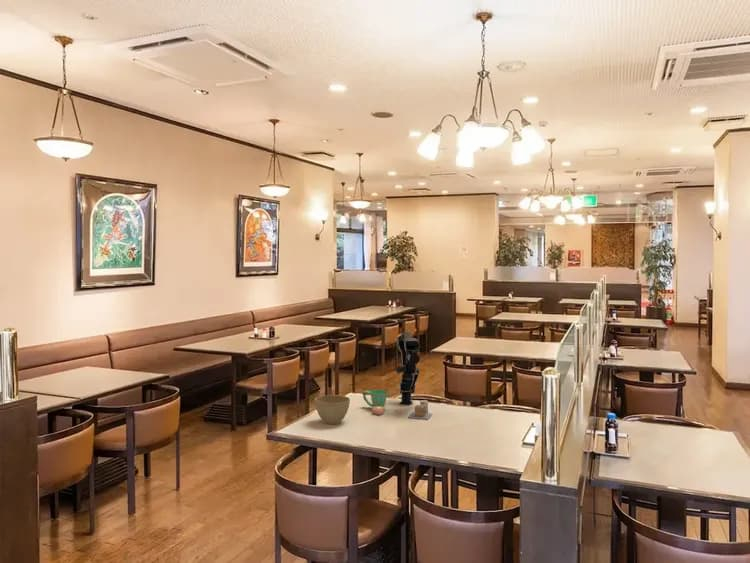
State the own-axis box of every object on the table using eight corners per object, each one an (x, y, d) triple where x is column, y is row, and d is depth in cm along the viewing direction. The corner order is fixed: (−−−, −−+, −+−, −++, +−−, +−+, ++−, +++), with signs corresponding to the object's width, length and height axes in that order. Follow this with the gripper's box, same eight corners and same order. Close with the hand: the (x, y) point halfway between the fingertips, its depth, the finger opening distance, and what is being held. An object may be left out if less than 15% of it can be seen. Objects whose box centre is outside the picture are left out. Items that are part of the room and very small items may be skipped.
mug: (390, 407, 324) (390, 390, 324) (383, 412, 316) (383, 394, 315) (366, 405, 331) (367, 388, 330) (359, 409, 322) (359, 391, 321)
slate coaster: (412, 412, 314) (412, 411, 314) (432, 414, 311) (432, 413, 311) (407, 418, 304) (407, 417, 304) (428, 419, 300) (428, 418, 300)
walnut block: (416, 413, 310) (416, 404, 310) (425, 414, 309) (425, 405, 309) (414, 416, 306) (414, 406, 306) (423, 416, 304) (423, 407, 304)
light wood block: (420, 410, 319) (420, 400, 319) (427, 410, 319) (427, 400, 319) (420, 412, 315) (420, 401, 315) (427, 412, 315) (427, 402, 315)
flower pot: (348, 427, 286) (348, 403, 286) (312, 426, 286) (312, 403, 286) (350, 417, 304) (350, 395, 304) (317, 417, 304) (317, 394, 304)
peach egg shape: (371, 412, 314) (371, 406, 314) (382, 411, 316) (381, 405, 316) (374, 415, 308) (373, 408, 308) (384, 414, 310) (384, 407, 310)
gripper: (401, 357, 331) (401, 384, 332) (393, 362, 314) (392, 391, 314) (420, 358, 328) (419, 385, 329) (412, 364, 310) (412, 392, 311)
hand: (410, 388), depth 321 cm, fingers open, 9 cm apart
